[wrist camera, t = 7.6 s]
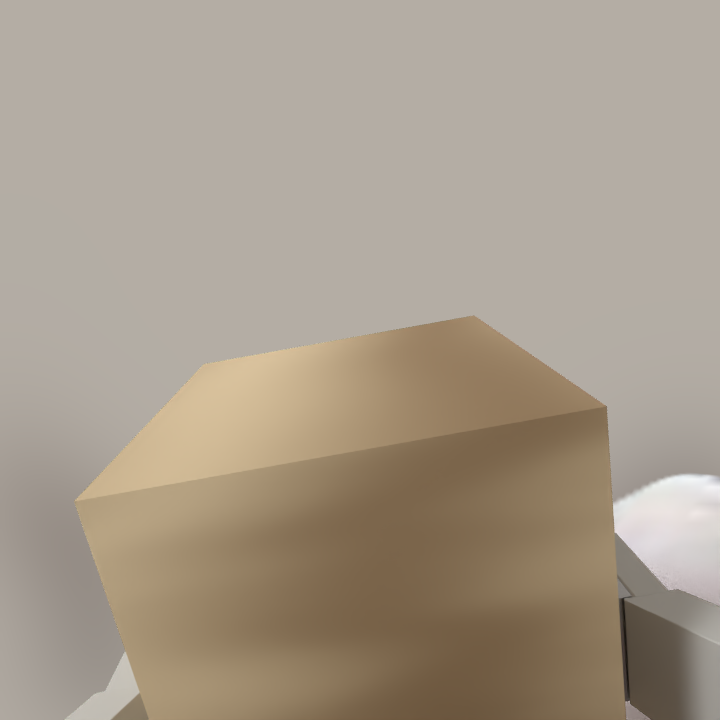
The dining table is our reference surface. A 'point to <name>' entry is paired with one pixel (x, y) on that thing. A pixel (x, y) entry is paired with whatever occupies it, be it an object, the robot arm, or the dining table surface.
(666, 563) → the dining table surface
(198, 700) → the oak block
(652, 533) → the dining table surface
